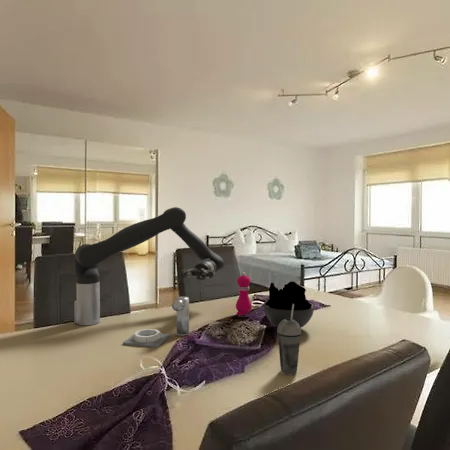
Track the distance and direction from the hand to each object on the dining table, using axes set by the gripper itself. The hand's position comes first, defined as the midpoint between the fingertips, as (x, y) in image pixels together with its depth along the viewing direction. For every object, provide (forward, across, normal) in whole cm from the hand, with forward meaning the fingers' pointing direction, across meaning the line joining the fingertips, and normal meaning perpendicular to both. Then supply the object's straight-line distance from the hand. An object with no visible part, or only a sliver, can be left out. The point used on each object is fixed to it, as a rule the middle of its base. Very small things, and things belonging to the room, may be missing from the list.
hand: (192, 276), depth 151 cm
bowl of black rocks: (-5, +39, +21) cm, 44 cm away
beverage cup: (+35, +42, +21) cm, 59 cm away
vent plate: (+21, -10, +20) cm, 31 cm away
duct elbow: (+13, 0, +20) cm, 24 cm away
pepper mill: (-19, +18, +21) cm, 33 cm away
